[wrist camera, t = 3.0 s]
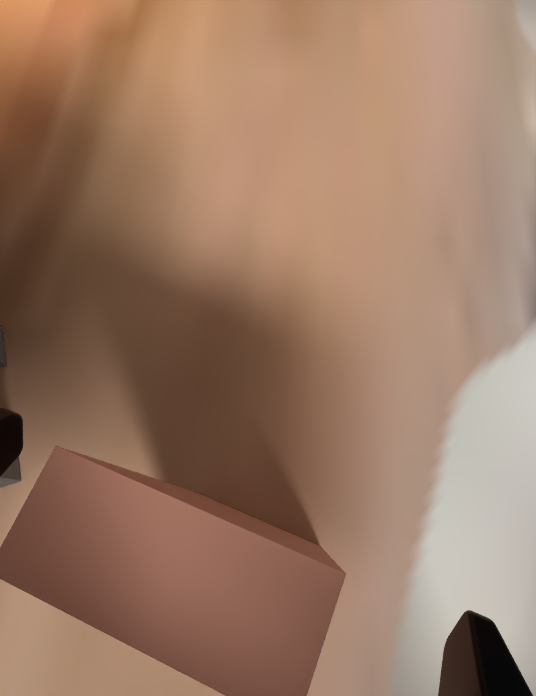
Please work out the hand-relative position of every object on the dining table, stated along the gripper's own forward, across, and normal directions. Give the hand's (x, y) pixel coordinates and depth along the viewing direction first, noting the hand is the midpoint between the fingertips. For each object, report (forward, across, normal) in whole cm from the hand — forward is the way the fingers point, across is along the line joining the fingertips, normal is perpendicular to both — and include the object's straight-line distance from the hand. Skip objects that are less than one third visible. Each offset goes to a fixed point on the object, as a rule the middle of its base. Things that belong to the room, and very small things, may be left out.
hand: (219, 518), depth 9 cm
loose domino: (+5, 0, +6) cm, 7 cm away
